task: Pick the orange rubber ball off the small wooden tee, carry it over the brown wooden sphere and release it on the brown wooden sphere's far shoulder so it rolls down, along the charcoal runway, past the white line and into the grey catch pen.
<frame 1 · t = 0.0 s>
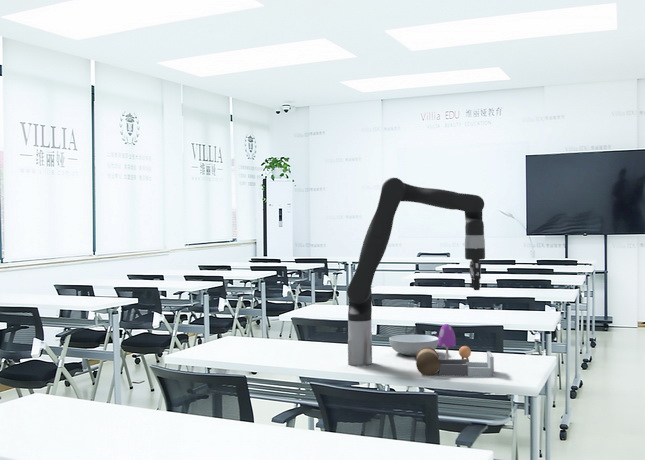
hand: (475, 289, 246), 29 cm above the table, fingers open, 8 cm apart
tee: (465, 368, 239), on the table
ball: (464, 352, 239), point 6 cm above the table, touching tee
toy: (447, 362, 252), on the table
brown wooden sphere: (427, 372, 234), on the table
serving bowl: (414, 354, 270), on the table
runway: (452, 372, 232), on the table
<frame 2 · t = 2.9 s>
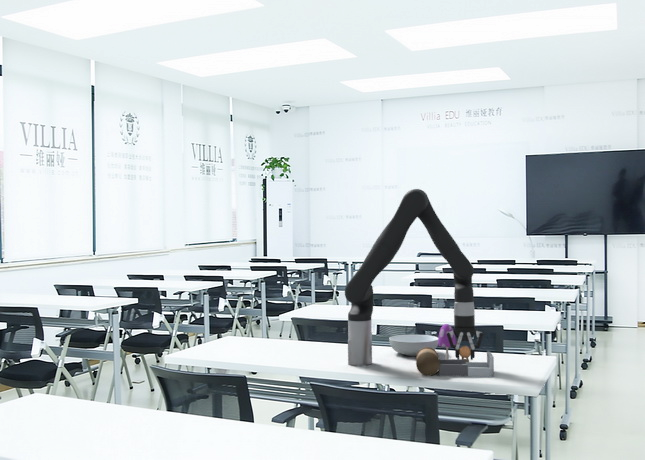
hand: (465, 359, 239), 4 cm above the table, fingers closed on ball, 4 cm apart
ball: (464, 352, 239), point 6 cm above the table, touching gripper, tee
everything else where it was.
when the fingers open (8 cm above the table, at t = 6.2 s): ball drops 9 cm and tips over, point 2 cm above the table.
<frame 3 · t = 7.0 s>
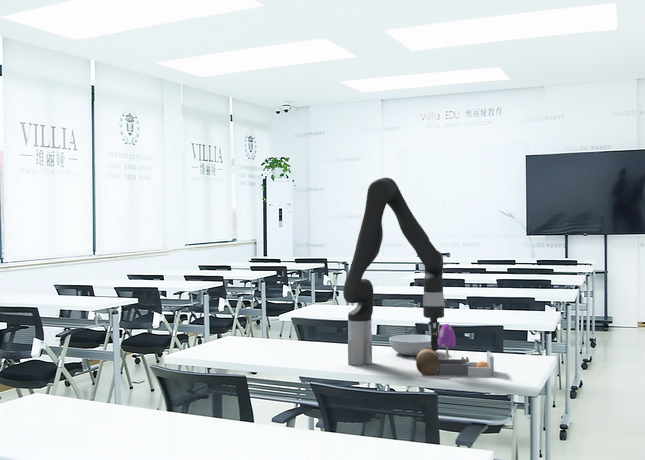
hand: (434, 348, 233), 9 cm above the table, fingers open, 8 cm apart
ball: (482, 367, 231), point 2 cm above the table, tilted 142°
everything else where it was.
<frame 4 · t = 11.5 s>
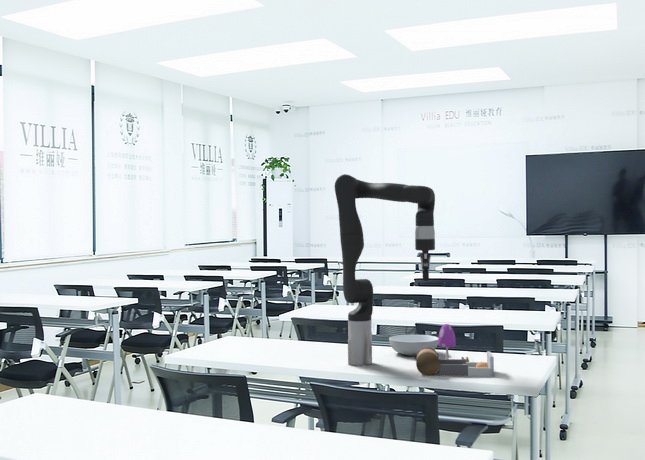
hand: (425, 279, 246), 33 cm above the table, fingers open, 8 cm apart
ball: (481, 368, 230), point 2 cm above the table, tilted 131°
everything else where it was.
at the end: ball inside the target area (1.4 cm from its centre), point 2.2 cm above the table; the gripper is holding nothing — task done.
